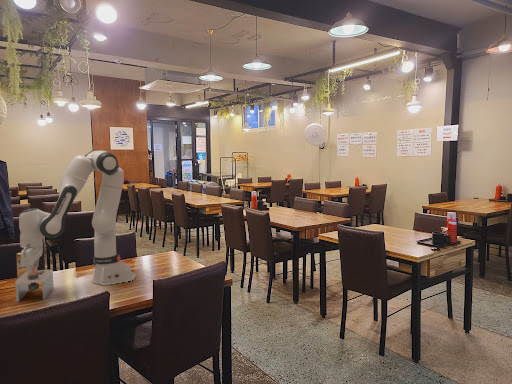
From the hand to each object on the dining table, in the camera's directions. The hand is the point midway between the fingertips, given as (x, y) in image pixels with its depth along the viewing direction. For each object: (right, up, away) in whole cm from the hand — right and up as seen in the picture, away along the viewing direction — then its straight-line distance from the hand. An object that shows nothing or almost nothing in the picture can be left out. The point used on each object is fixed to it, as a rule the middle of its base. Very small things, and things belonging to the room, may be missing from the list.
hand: (32, 270), depth 171 cm
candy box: (-18, -11, +22) cm, 31 cm away
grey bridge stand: (-1, -13, +4) cm, 13 cm away
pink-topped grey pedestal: (0, -9, +1) cm, 9 cm away
